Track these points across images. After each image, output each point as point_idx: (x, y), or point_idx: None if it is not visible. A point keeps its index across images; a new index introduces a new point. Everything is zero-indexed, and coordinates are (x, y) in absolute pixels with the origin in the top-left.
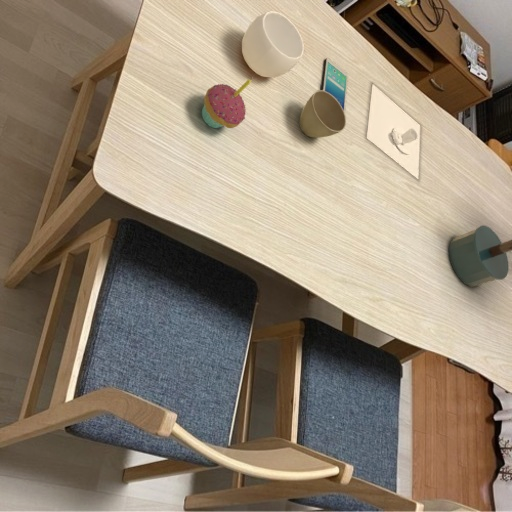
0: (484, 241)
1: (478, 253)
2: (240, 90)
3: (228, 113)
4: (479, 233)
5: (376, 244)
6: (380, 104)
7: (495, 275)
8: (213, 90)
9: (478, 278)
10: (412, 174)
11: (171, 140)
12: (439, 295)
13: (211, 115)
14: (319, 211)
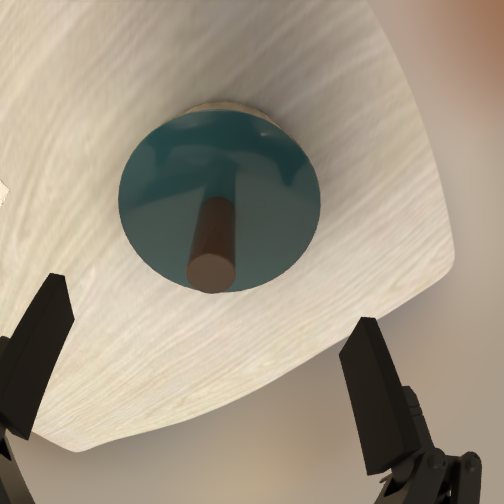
0: (169, 225)
1: (190, 287)
2: (6, 430)
3: None
4: (138, 229)
5: (116, 367)
6: None
7: (280, 266)
8: None
9: None
10: (1, 202)
11: (43, 428)
12: (235, 316)
13: None
14: (76, 394)
